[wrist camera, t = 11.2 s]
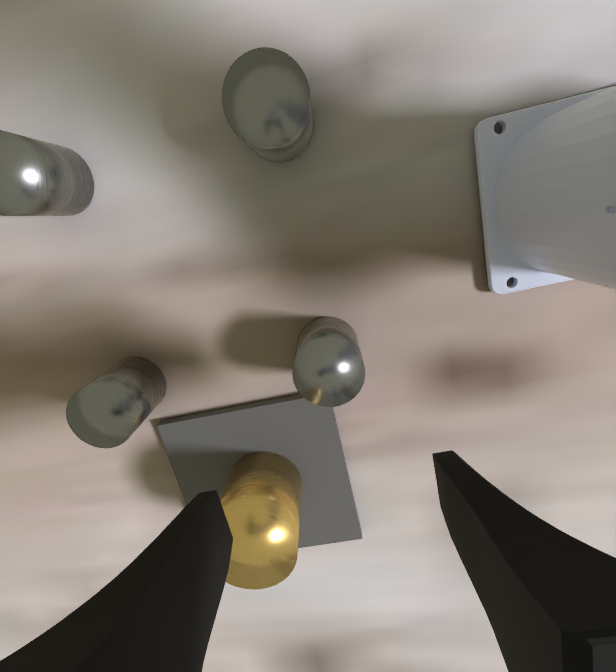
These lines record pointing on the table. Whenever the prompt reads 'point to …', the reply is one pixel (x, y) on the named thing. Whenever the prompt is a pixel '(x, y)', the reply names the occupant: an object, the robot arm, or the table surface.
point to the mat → (277, 437)
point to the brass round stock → (262, 519)
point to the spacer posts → (76, 194)
